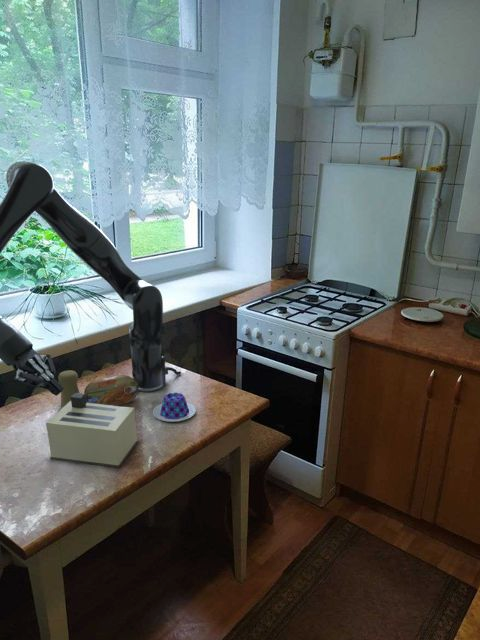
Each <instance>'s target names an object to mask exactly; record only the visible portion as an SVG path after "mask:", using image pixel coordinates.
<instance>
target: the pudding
mask: <svg viewBox="0 0 480 640" xmlns="http://www.w3.org/2000/svg"><path fill="white" fill-rule="evenodd" d="M196 412H197V409H196V406H195V405H194V404H192V403H190V402H188V401H187V400H186V397H185V396H184V394H183V393H180V392H169V393H167V394H165V395H164V397H163V398H162V403H160V404H158V405H157V406H155V407H154V408H153V410H152V414H153V416H154V417H155V418H156V419H158V420H160V421H164V422H181V421H185V420H188V419H190V418H192V417H194V415H195V414H196Z"/></svg>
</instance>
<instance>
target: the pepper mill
mask: <svg viewBox="0 0 480 640" xmlns="http://www.w3.org/2000/svg"><path fill="white" fill-rule="evenodd" d="M78 374H79V373H77V372H76V371H75V370H71V369H70V370H64V371H62V372H60V373H59V375H58V383H60V384H61V385H62V387H63V391H62V392H61V393H60V410H61V409H62V408H63V407H64V406H65V405H66V404H67V403H69V402H70V401H71V396H72V395H74V394H75V393H81V392H80V389H79V386H78V381H79V375H78Z"/></svg>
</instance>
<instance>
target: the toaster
mask: <svg viewBox="0 0 480 640" xmlns="http://www.w3.org/2000/svg"><path fill="white" fill-rule="evenodd" d="M135 411H136V410H135V407H129V406H122V405H117V406H112V405H103V404H94V403H86V405H85V406H84V407H83V408H75V407H72V404H71V401H70V402H69V403H67V404H66V405H65V406H64V407H63V408H62V409H61V408H60V410H59V411H57V412H56V413H55V414H54V415H53V416H52V417H51V418H49V420H47V421H46V423H45V425H46V431H47V438H48V445H49V451H50V456H49V458H50V459H49V460H54V461H61V462H68V463H77V464H83V465H93V466H99V467H109V468H116V469H120V468H121V466H122V465H123V464H124V462H125V461H126V460H127V458H128V456H129V455H130V454H131V453H132V451H133V450H134V448H135V447H136V446H137V444H138V443H139V440H138V439H137V425H136V412H135Z"/></svg>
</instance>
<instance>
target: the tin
mask: <svg viewBox="0 0 480 640" xmlns="http://www.w3.org/2000/svg"><path fill="white" fill-rule="evenodd" d="M83 394H85V396H86V403H94V404H103V405H112V406H122V405H127V404H130V403H131V402H133V401H134V400H135V399H136V398H137V396H138V394H139V391H138V385H137V383H136V381H135V380H134V379H133V377H131V376H130V375H128V374H127V375H126V374H120V375H115V376H110V377H104V378H98V379H94V380H92V381H90V382H89V383H88V384H87V385H86V387H85V389H84V393H83Z"/></svg>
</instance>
